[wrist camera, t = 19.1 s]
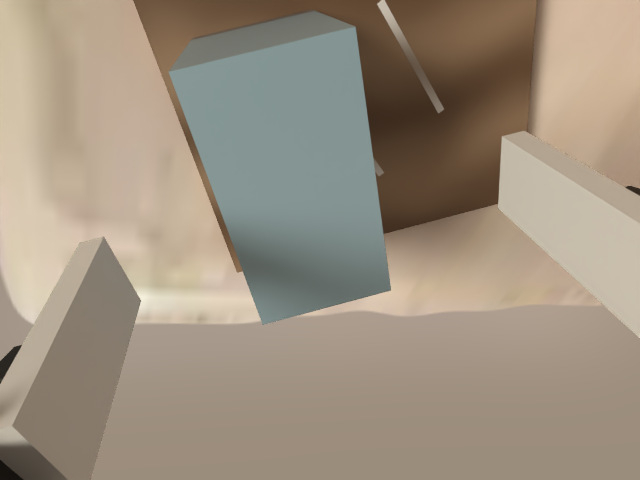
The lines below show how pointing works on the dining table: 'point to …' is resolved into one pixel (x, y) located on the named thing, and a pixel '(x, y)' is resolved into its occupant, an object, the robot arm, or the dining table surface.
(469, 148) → the board
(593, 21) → the dining table surface
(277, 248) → the block
